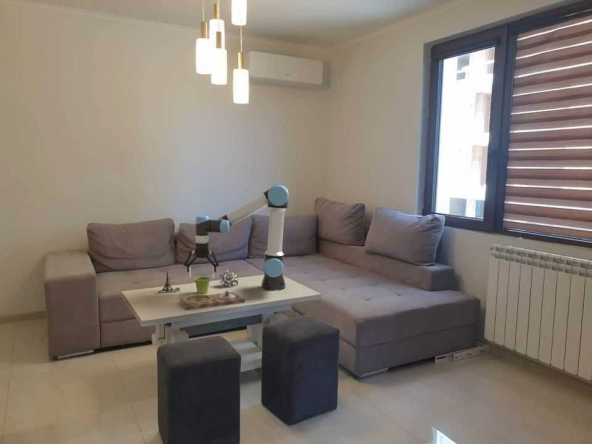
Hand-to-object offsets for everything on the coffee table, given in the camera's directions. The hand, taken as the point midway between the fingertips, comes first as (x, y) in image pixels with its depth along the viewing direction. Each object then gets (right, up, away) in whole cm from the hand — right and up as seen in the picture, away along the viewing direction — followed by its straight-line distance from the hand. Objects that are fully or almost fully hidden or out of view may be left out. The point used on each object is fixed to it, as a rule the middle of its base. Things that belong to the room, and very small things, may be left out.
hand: (201, 277), depth 272 cm
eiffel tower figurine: (-22, -9, +5) cm, 24 cm away
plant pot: (0, -9, +1) cm, 9 cm away
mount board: (+10, -11, -18) cm, 23 cm away
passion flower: (+13, -7, +19) cm, 24 cm away
